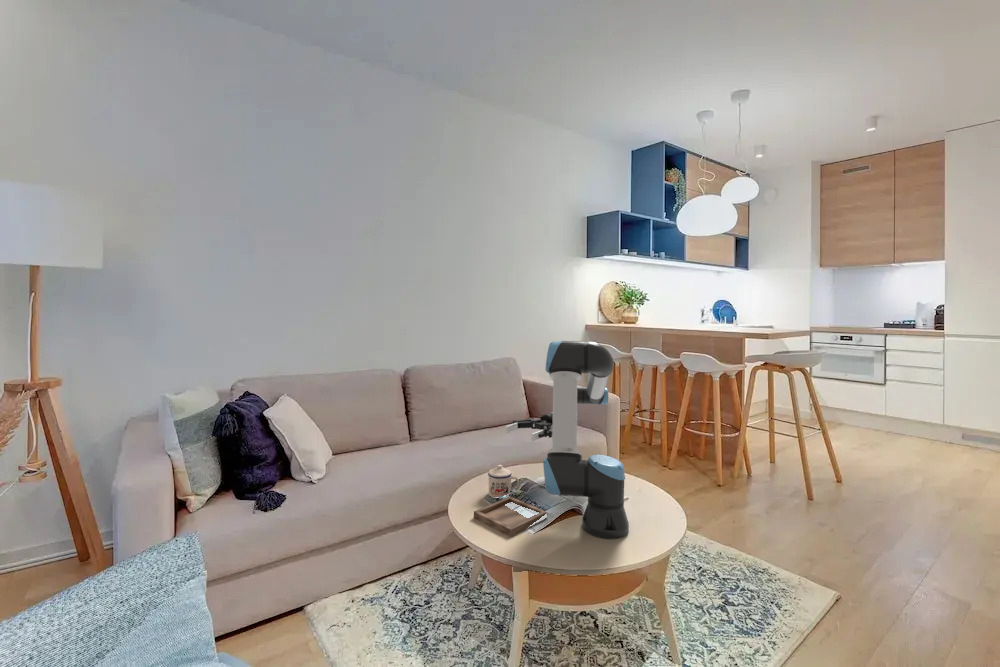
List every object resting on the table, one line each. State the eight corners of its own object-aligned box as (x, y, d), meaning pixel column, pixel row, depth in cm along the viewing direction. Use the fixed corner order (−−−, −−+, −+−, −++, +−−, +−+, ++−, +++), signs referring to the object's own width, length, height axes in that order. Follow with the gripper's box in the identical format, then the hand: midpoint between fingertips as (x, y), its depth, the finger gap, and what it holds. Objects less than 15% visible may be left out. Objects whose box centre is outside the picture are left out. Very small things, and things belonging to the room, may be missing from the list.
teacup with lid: (487, 499, 177) (487, 469, 176) (488, 489, 186) (488, 461, 185) (519, 500, 177) (519, 470, 176) (518, 490, 186) (518, 461, 185)
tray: (547, 518, 162) (547, 512, 162) (510, 536, 149) (511, 529, 149) (510, 502, 175) (510, 496, 175) (473, 517, 162) (473, 511, 162)
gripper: (575, 436, 192) (543, 450, 177) (529, 423, 209) (496, 435, 194) (576, 419, 192) (543, 431, 176) (529, 407, 209) (496, 417, 193)
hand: (518, 433), depth 185 cm, fingers open, 13 cm apart
